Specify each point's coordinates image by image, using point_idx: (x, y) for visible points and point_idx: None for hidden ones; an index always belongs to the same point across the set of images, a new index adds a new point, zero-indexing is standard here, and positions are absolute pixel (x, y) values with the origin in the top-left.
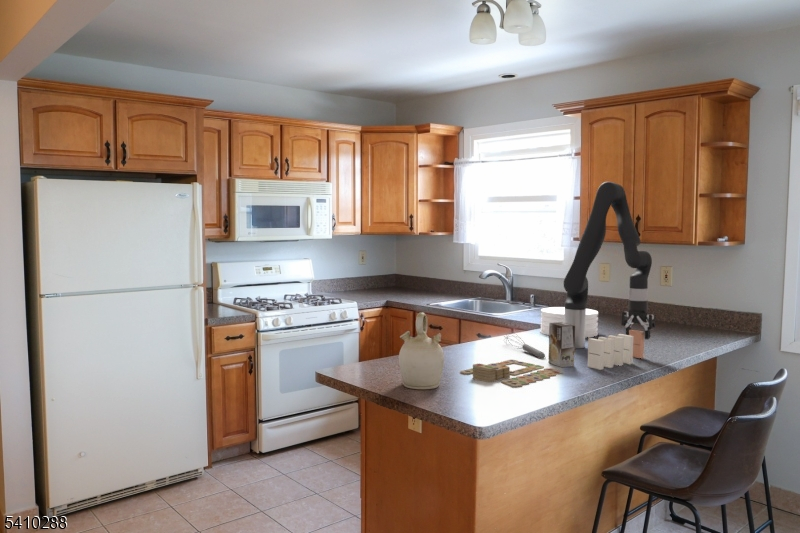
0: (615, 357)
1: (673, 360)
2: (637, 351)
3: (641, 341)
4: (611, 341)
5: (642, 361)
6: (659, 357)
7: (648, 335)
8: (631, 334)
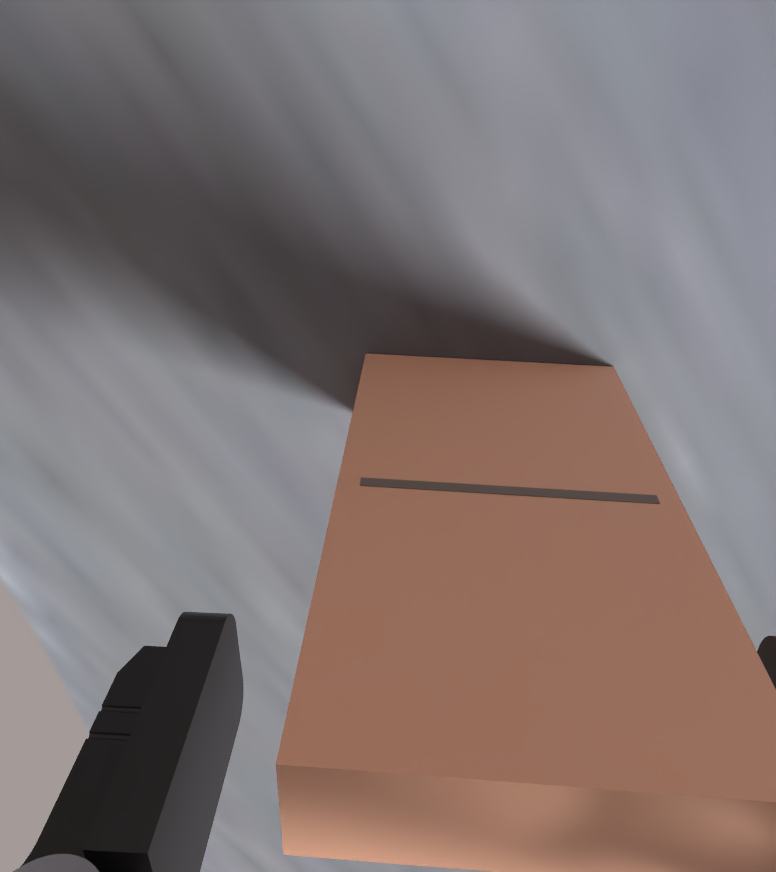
0: None
1: (58, 583)
2: (431, 410)
3: (324, 544)
4: None
5: (193, 164)
6: (268, 605)
7: (103, 720)
8: (671, 671)
